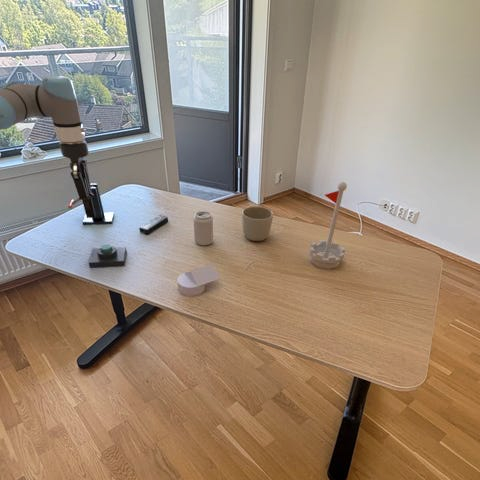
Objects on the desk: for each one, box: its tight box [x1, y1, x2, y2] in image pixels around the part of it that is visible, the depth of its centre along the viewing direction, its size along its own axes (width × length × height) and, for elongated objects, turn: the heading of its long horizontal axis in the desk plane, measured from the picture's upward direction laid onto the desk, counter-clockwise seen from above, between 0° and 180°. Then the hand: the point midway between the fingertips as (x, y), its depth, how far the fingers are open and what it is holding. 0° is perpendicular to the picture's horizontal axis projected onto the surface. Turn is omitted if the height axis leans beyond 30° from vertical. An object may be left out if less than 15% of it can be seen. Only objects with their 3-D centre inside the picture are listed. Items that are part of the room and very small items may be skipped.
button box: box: [88, 245, 128, 269], centre depth 126 cm, size 12×10×4 cm
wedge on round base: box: [176, 263, 221, 297], centre depth 115 cm, size 9×7×13 cm
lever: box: [68, 185, 97, 210], centre depth 144 cm, size 13×6×2 cm, turn 99°
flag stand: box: [308, 181, 348, 270], centre depth 123 cm, size 13×13×30 cm
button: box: [100, 244, 112, 253], centre depth 125 cm, size 4×4×2 cm
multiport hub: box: [138, 214, 169, 236], centre depth 148 cm, size 4×14×2 cm, turn 153°
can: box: [193, 210, 214, 247], centre depth 136 cm, size 8×8×12 cm
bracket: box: [82, 183, 115, 226], centre depth 147 cm, size 12×9×15 cm
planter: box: [241, 205, 274, 242], centre depth 141 cm, size 12×12×11 cm
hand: (91, 216), depth 117 cm, fingers closed
